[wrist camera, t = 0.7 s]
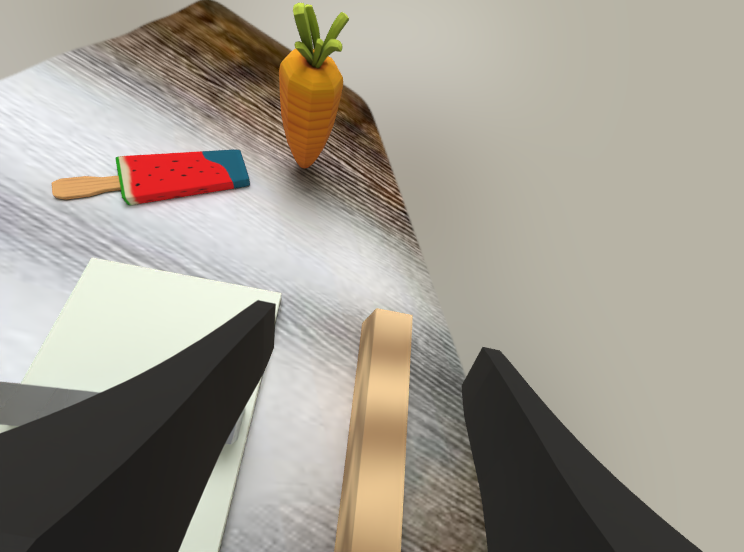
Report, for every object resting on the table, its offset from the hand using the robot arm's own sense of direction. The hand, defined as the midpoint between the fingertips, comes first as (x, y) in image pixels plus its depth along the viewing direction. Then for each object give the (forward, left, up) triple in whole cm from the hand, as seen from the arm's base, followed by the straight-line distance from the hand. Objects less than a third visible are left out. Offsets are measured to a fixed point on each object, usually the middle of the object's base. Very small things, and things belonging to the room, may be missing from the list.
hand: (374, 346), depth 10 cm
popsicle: (+15, +18, -17) cm, 29 cm away
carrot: (+21, +6, -16) cm, 28 cm away
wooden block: (-4, -4, -16) cm, 17 cm away
